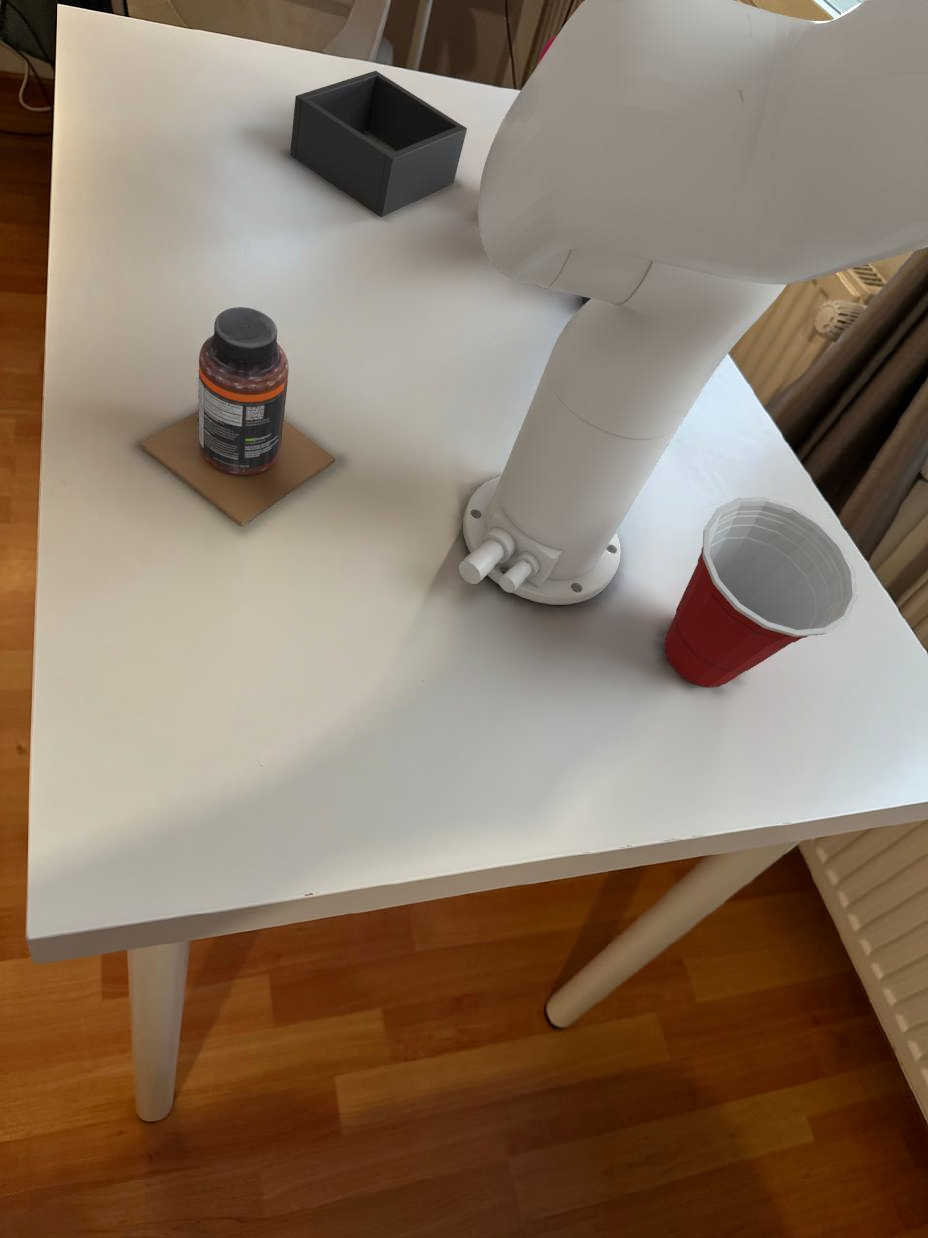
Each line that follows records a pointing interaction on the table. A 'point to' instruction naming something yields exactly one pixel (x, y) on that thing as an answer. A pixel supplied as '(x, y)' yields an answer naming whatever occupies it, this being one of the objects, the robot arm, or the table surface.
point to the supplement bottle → (242, 393)
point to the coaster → (237, 491)
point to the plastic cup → (757, 590)
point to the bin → (361, 165)
